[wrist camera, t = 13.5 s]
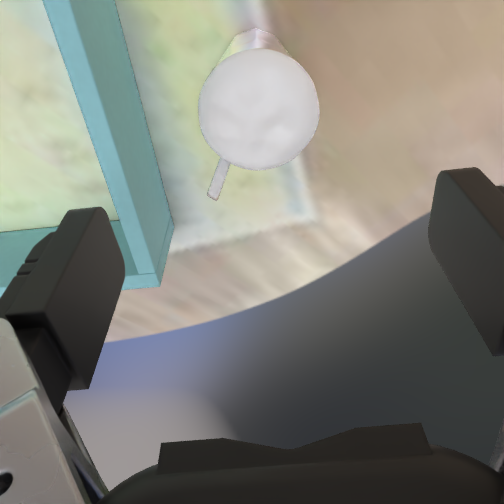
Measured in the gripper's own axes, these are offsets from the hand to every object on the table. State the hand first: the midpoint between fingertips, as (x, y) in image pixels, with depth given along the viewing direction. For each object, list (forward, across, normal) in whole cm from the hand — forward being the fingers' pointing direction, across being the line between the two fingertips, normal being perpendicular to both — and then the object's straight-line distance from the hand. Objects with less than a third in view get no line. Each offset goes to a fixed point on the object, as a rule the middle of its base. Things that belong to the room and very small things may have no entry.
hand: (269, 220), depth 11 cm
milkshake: (+15, 0, 0) cm, 15 cm away
